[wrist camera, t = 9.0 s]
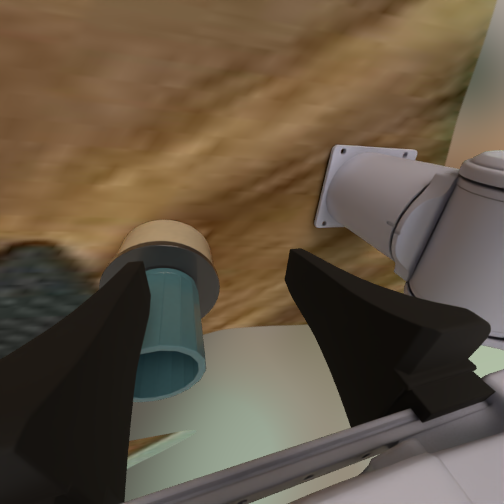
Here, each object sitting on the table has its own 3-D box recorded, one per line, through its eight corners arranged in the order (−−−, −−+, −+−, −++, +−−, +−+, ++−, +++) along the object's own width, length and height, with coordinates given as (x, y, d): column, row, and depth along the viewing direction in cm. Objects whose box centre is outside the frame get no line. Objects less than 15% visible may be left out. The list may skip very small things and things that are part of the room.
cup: (195, 263, 16) (203, 337, 11) (199, 312, 19) (207, 388, 14) (116, 272, 15) (84, 359, 10) (134, 322, 18) (116, 411, 13)
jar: (212, 216, 20) (219, 241, 16) (214, 288, 25) (219, 323, 21) (105, 218, 18) (81, 249, 14) (128, 298, 23) (115, 338, 18)
